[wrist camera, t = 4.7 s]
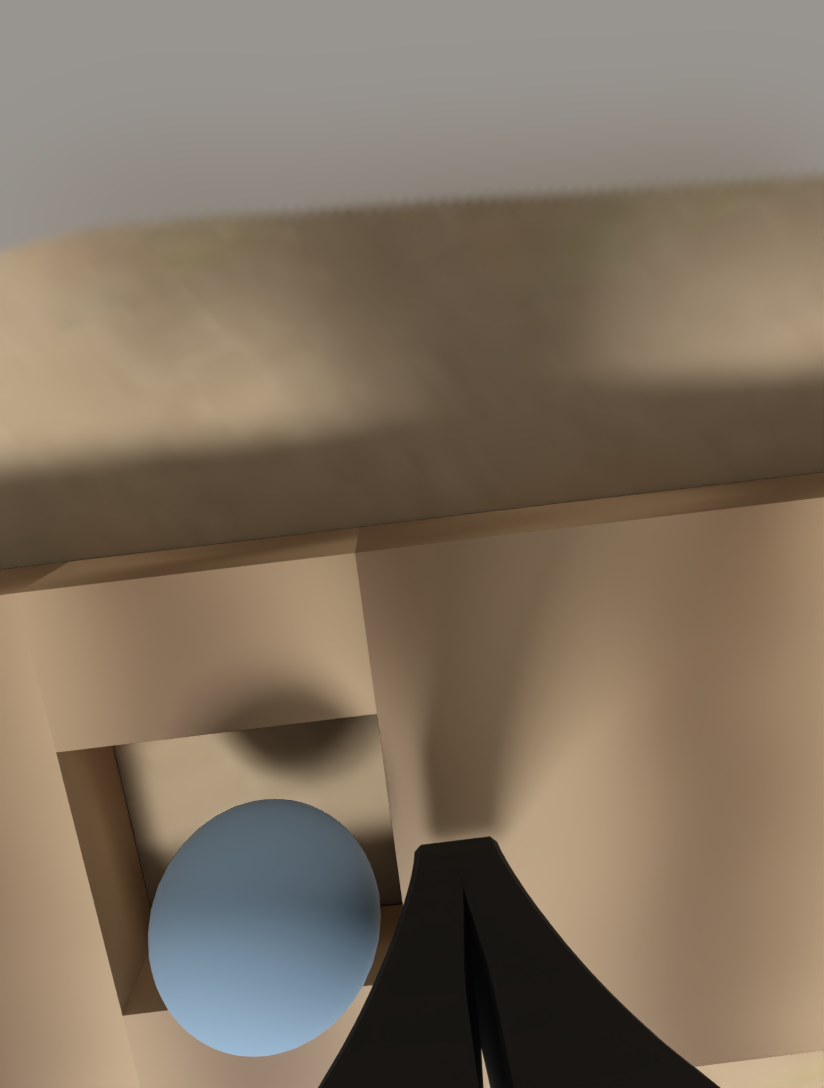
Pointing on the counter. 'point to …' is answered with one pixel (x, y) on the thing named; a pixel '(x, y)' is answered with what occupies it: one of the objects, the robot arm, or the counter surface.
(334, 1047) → the board
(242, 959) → the ball
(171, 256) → the counter surface
